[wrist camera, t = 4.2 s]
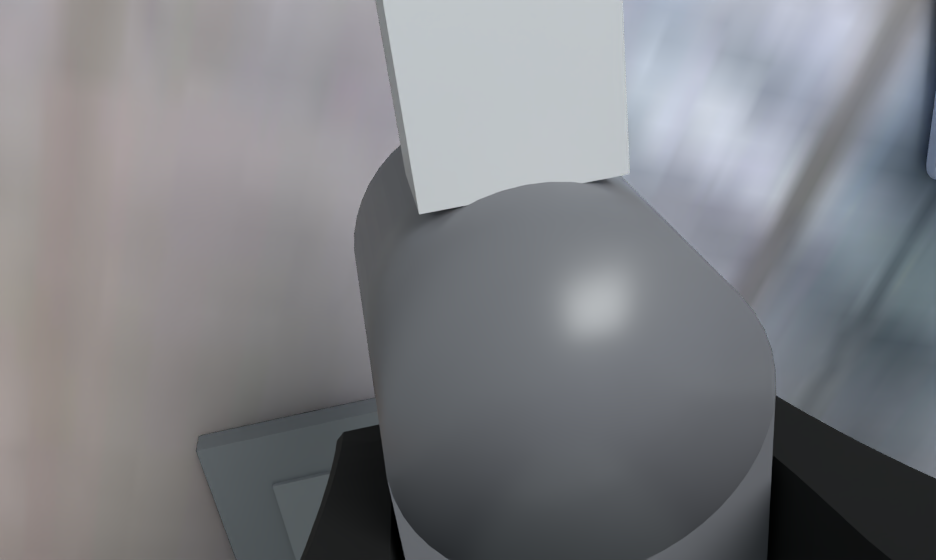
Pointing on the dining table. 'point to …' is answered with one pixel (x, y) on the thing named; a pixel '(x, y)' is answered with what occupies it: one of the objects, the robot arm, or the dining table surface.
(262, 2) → the dining table surface
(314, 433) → the coaster
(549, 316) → the plug
